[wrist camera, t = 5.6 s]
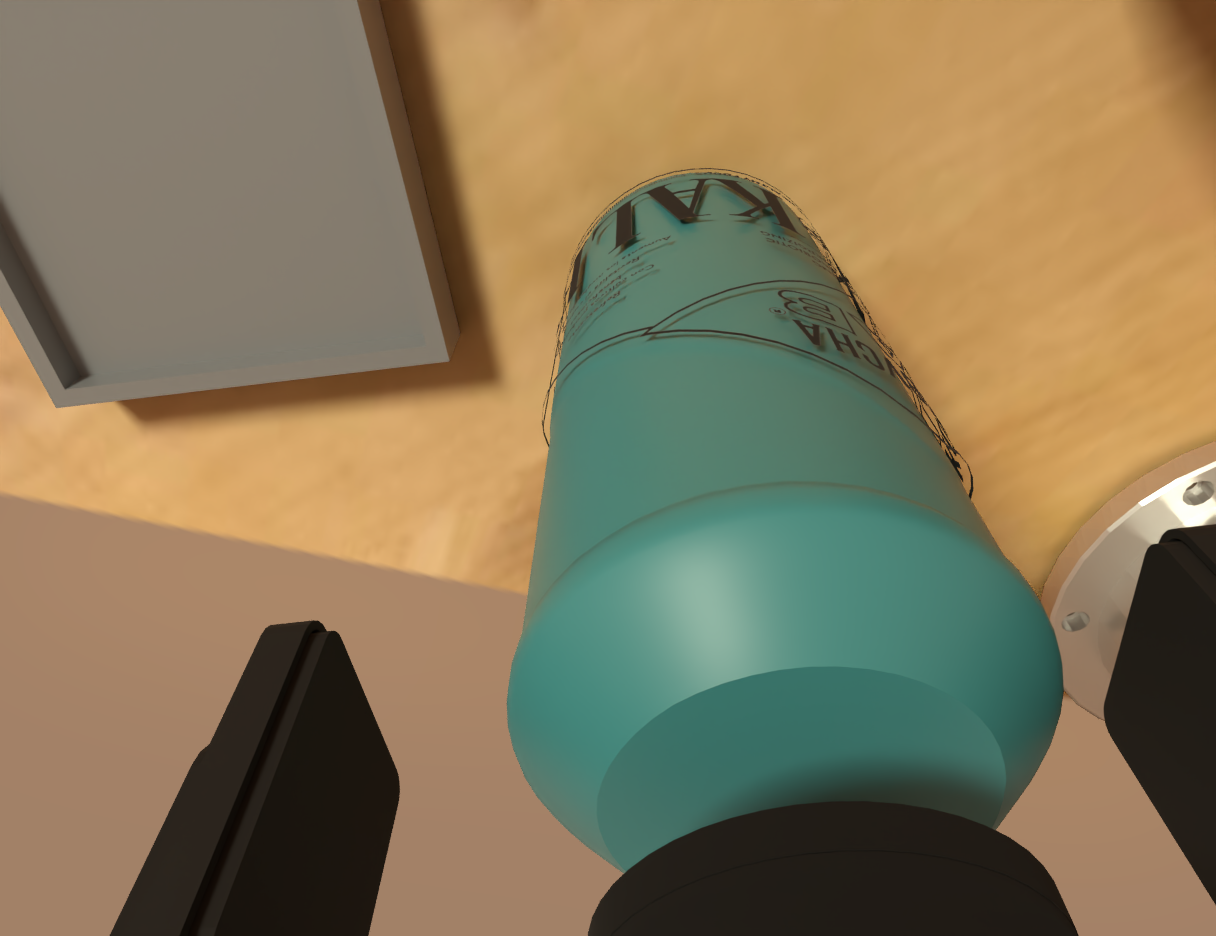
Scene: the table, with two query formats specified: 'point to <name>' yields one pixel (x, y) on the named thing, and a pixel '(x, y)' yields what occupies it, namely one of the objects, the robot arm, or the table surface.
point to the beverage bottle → (769, 604)
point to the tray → (210, 197)
